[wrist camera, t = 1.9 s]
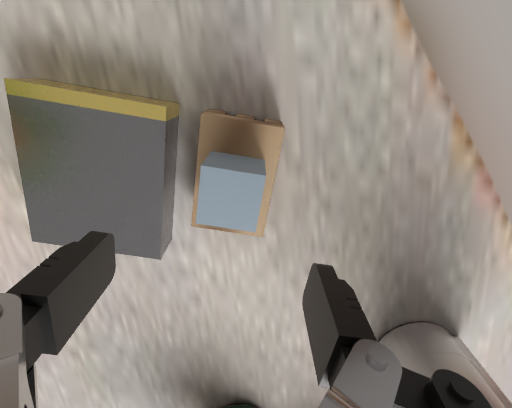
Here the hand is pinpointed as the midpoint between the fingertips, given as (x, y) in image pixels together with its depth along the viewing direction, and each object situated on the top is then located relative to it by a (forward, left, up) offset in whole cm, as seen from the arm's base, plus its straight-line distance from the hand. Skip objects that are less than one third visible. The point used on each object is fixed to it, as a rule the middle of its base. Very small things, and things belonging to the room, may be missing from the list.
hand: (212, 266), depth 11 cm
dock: (+11, +2, -15) cm, 19 cm away
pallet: (0, 0, -15) cm, 15 cm away
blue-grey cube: (0, 0, -11) cm, 11 cm away
